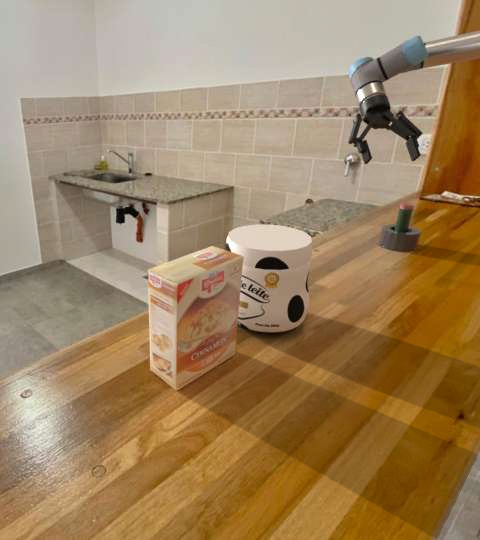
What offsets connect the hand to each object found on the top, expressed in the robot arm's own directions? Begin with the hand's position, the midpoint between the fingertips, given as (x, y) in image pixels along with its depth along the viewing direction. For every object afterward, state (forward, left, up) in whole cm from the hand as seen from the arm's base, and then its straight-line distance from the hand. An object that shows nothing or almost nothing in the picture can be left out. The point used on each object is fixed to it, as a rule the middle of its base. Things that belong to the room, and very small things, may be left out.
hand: (392, 159), depth 111 cm
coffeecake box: (+28, +86, -23) cm, 93 cm away
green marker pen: (-5, +10, -22) cm, 25 cm away
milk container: (+21, +66, -23) cm, 72 cm away
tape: (-5, +10, -23) cm, 25 cm away
